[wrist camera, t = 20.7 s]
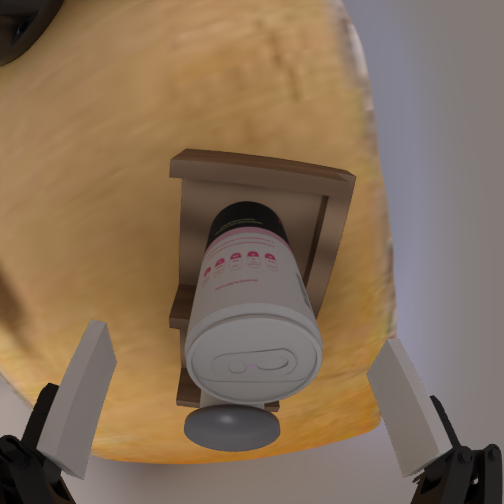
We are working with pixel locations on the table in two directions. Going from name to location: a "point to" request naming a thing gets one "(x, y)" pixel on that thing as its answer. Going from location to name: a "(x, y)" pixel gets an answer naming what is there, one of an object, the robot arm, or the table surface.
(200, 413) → the cable reel
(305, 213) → the wooden divided tray
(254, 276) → the beverage can
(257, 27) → the table surface
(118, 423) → the table surface
